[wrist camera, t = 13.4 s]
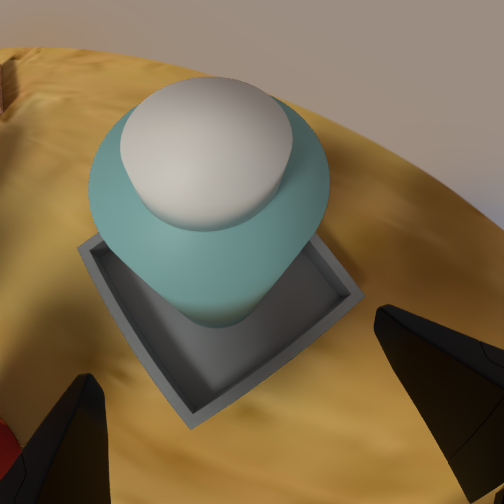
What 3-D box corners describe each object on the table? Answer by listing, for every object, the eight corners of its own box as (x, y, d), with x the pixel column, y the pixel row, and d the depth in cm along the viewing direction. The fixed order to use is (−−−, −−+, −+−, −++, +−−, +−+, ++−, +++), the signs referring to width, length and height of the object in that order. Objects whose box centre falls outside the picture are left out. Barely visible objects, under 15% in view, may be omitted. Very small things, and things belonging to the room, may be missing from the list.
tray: (194, 420, 14) (190, 429, 12) (90, 258, 16) (77, 247, 14) (350, 301, 17) (365, 295, 15) (239, 164, 19) (240, 145, 17)
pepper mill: (235, 344, 15) (274, 339, 4) (153, 299, 15) (23, 188, 4) (277, 264, 17) (373, 108, 5) (199, 223, 17) (174, 35, 6)
